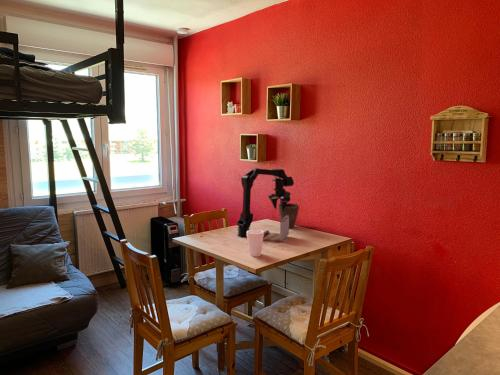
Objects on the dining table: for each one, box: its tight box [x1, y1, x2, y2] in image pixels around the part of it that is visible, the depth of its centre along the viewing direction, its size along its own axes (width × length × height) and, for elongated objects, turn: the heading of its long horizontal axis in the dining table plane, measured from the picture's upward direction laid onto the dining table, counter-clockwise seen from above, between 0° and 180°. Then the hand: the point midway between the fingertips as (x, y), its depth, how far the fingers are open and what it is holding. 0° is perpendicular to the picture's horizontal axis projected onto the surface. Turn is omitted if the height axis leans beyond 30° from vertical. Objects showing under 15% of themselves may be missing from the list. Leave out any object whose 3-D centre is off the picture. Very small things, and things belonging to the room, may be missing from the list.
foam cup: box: [246, 229, 265, 257], centre depth 207 cm, size 10×9×13 cm
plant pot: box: [277, 202, 300, 229], centre depth 271 cm, size 15×15×16 cm
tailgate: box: [279, 215, 290, 242], centre depth 237 cm, size 2×16×12 cm, turn 160°
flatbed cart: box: [263, 229, 282, 244], centre depth 240 cm, size 13×16×3 cm
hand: (279, 209), depth 259 cm, fingers open, 9 cm apart
